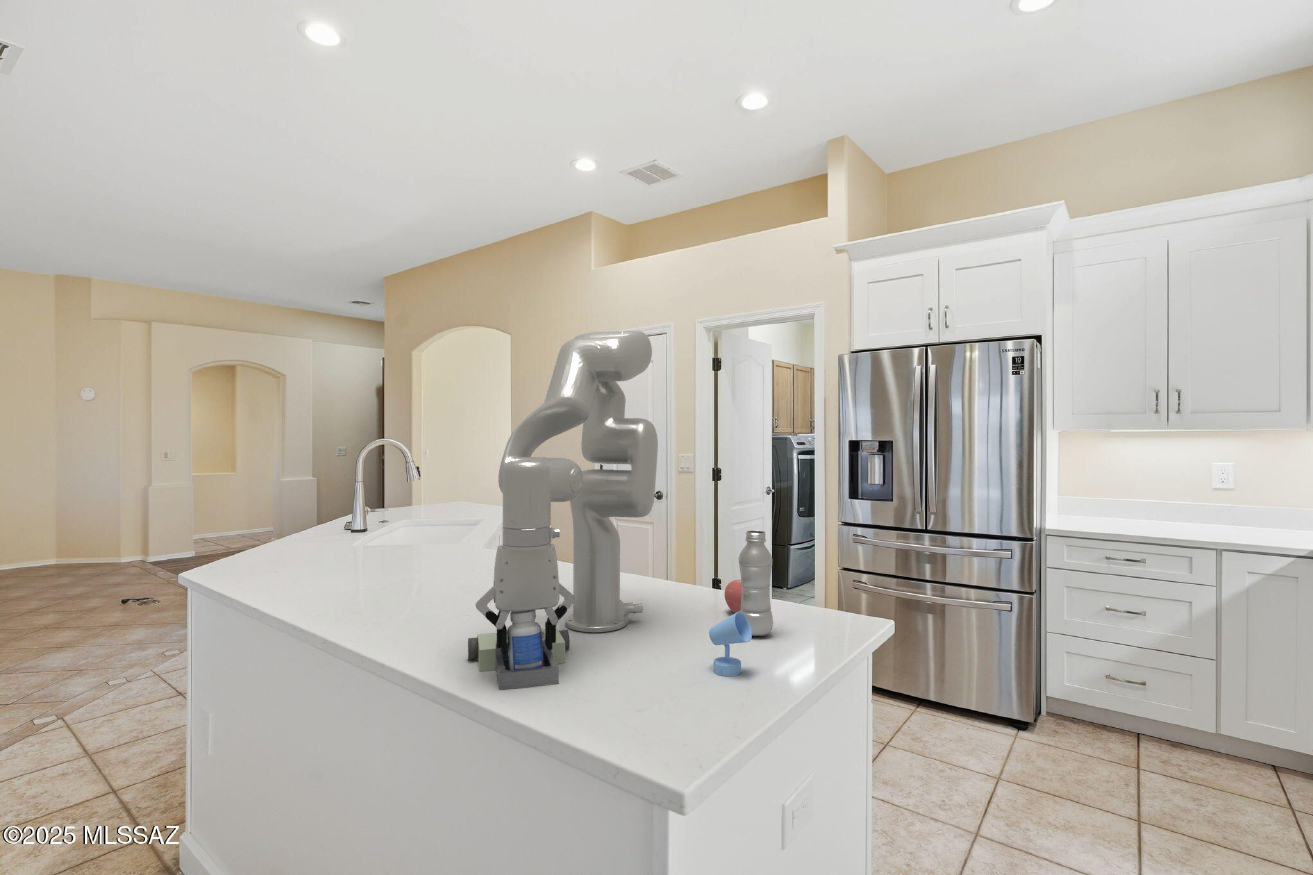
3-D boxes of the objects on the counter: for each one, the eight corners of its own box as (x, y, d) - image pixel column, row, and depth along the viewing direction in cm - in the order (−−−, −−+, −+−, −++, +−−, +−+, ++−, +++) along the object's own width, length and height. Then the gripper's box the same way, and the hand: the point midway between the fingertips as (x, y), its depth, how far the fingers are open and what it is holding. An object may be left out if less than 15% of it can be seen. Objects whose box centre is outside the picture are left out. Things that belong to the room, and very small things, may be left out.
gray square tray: (550, 664, 110) (550, 637, 110) (558, 683, 102) (558, 654, 102) (495, 669, 108) (495, 642, 108) (499, 690, 99) (499, 660, 99)
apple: (735, 607, 148) (735, 571, 148) (764, 612, 144) (764, 576, 144) (718, 614, 142) (718, 577, 142) (748, 620, 138) (748, 582, 138)
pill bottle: (550, 670, 105) (547, 609, 105) (522, 680, 101) (519, 616, 101) (530, 665, 109) (526, 605, 109) (502, 674, 105) (499, 612, 105)
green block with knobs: (565, 645, 120) (565, 623, 120) (574, 661, 111) (574, 637, 111) (467, 654, 115) (468, 631, 115) (469, 672, 106) (469, 647, 106)
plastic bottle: (765, 642, 123) (765, 535, 123) (732, 636, 126) (732, 532, 126) (778, 633, 128) (778, 531, 128) (746, 628, 132) (746, 528, 132)
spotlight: (755, 671, 107) (717, 663, 111) (755, 610, 107) (717, 604, 111) (742, 680, 103) (703, 672, 107) (743, 617, 103) (704, 610, 107)
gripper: (576, 532, 111) (575, 638, 111) (469, 536, 106) (469, 647, 106) (584, 538, 104) (584, 651, 104) (471, 543, 98) (470, 663, 98)
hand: (526, 648), depth 105 cm, fingers open, 6 cm apart
